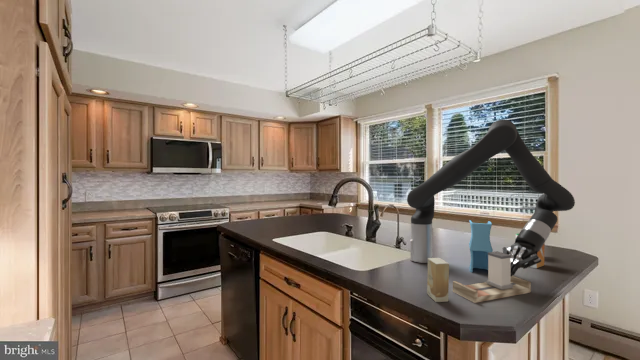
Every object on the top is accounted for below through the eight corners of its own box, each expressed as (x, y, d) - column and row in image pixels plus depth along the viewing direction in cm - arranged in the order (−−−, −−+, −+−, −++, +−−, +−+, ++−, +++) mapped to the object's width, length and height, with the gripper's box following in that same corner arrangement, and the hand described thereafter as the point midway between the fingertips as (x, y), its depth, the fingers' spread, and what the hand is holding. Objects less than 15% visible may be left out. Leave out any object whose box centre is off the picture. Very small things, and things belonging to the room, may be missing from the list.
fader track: (474, 302, 89) (474, 291, 89) (452, 291, 98) (452, 281, 98) (530, 292, 97) (530, 281, 97) (505, 282, 105) (505, 273, 105)
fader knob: (501, 289, 95) (501, 256, 94) (485, 283, 100) (486, 252, 100) (513, 287, 96) (513, 255, 96) (496, 281, 102) (496, 250, 102)
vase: (490, 269, 121) (490, 221, 120) (492, 275, 113) (492, 224, 113) (469, 266, 124) (469, 220, 124) (470, 272, 117) (470, 223, 116)
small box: (537, 269, 120) (537, 237, 120) (519, 265, 125) (519, 235, 125) (544, 265, 124) (545, 235, 124) (527, 261, 130) (528, 233, 130)
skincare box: (426, 294, 96) (426, 257, 96) (439, 293, 96) (439, 257, 96) (436, 302, 90) (436, 263, 89) (449, 302, 90) (449, 263, 90)
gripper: (559, 246, 96) (533, 288, 93) (520, 238, 109) (496, 275, 105) (548, 231, 95) (521, 273, 91) (509, 225, 107) (484, 261, 103)
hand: (507, 274), depth 98 cm, fingers closed
